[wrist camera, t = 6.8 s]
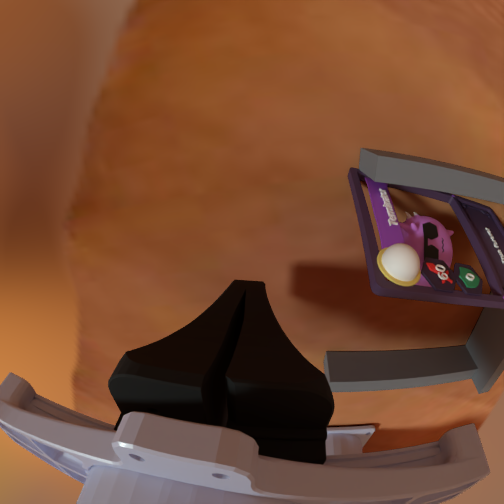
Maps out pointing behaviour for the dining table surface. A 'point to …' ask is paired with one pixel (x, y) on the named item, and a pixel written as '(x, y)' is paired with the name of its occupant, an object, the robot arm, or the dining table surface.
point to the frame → (435, 359)
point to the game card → (428, 248)
